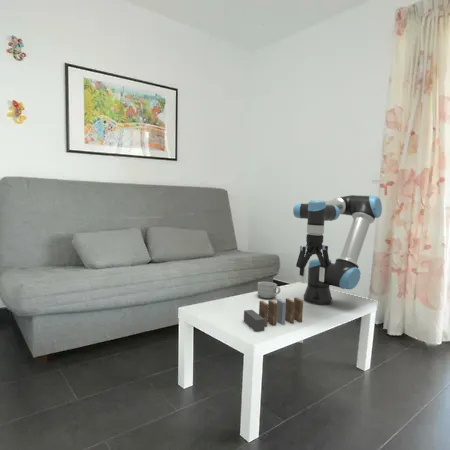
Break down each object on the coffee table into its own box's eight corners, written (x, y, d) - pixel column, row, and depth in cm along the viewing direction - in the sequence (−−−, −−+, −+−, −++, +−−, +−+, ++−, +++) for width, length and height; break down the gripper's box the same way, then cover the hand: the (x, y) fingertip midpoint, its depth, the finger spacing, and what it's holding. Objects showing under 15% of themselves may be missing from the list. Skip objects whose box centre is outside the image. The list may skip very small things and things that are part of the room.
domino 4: (287, 319, 155) (288, 298, 154) (293, 323, 151) (294, 301, 150) (284, 319, 155) (285, 298, 154) (290, 323, 150) (291, 301, 149)
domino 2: (270, 321, 152) (271, 299, 151) (276, 325, 147) (277, 303, 146) (267, 321, 151) (268, 300, 150) (272, 325, 147) (274, 303, 146)
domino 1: (261, 322, 150) (262, 300, 149) (267, 326, 146) (268, 304, 145) (258, 322, 150) (259, 301, 149) (263, 327, 145) (264, 304, 144)
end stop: (251, 320, 152) (252, 309, 152) (264, 330, 141) (264, 319, 141) (243, 321, 151) (244, 310, 150) (255, 331, 140) (256, 320, 139)
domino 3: (279, 320, 154) (280, 299, 153) (284, 324, 149) (286, 302, 148) (275, 320, 153) (277, 299, 152) (281, 324, 148) (282, 302, 147)
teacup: (253, 296, 190) (253, 282, 189) (267, 293, 196) (267, 279, 195) (270, 302, 178) (271, 288, 178) (284, 299, 185) (285, 285, 184)
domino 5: (295, 318, 157) (296, 297, 156) (302, 322, 152) (303, 300, 151) (292, 318, 156) (294, 297, 155) (299, 322, 152) (300, 301, 151)
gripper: (329, 232, 161) (326, 278, 163) (289, 233, 153) (287, 281, 155) (340, 234, 154) (337, 282, 156) (299, 235, 146) (296, 285, 148)
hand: (312, 281), depth 155 cm, fingers open, 10 cm apart
